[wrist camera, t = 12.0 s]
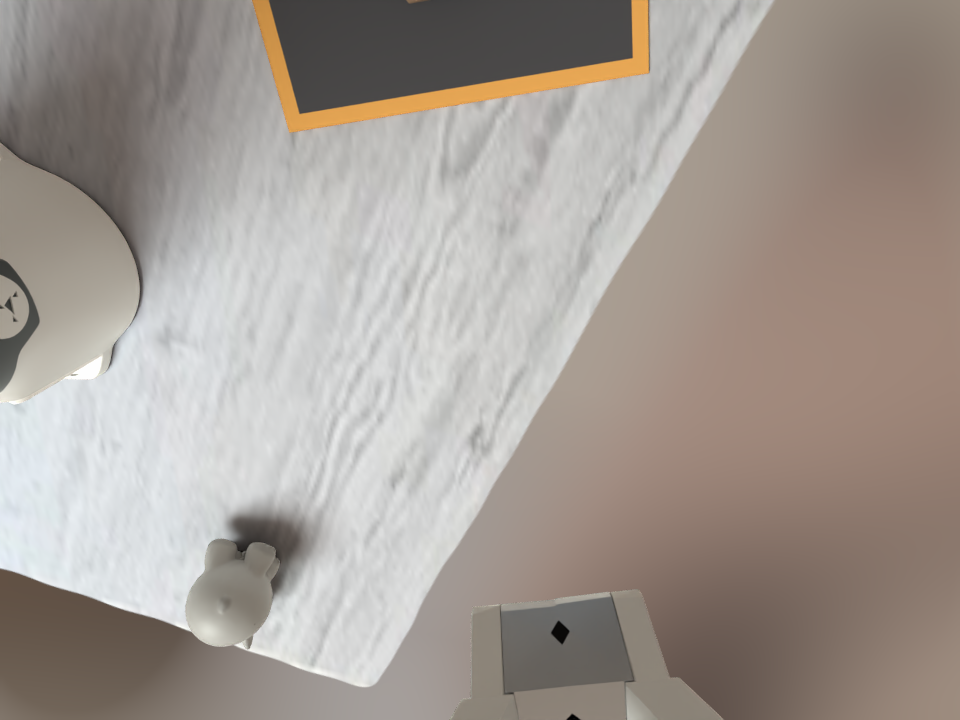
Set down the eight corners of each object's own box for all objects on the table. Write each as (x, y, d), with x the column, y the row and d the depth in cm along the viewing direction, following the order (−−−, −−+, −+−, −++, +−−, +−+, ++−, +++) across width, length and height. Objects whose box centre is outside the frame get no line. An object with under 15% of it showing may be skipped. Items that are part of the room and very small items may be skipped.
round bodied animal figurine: (226, 574, 59) (192, 661, 53) (204, 528, 50) (160, 627, 44) (293, 584, 59) (267, 671, 54) (283, 539, 50) (250, 639, 45)
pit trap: (290, 132, 37) (289, 132, 37) (244, -28, 33) (244, -28, 33) (648, 73, 35) (648, 73, 35) (646, -102, 31) (647, -103, 31)
